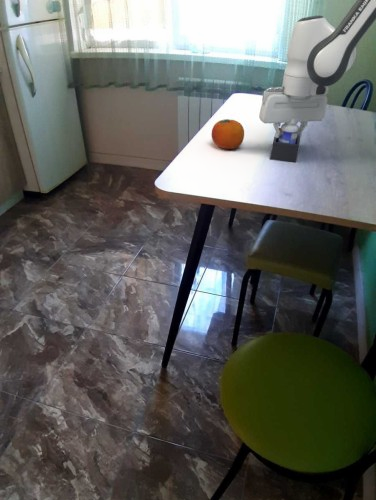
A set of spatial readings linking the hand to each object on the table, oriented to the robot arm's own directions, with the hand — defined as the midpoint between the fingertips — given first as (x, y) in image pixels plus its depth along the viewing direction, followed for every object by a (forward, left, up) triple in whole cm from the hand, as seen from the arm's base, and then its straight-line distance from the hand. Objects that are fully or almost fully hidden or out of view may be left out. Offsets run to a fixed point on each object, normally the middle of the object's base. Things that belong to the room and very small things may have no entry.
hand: (288, 137), depth 128 cm
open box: (-2, -3, -6) cm, 7 cm away
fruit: (+16, -11, -6) cm, 20 cm away
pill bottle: (0, 0, -4) cm, 4 cm away
